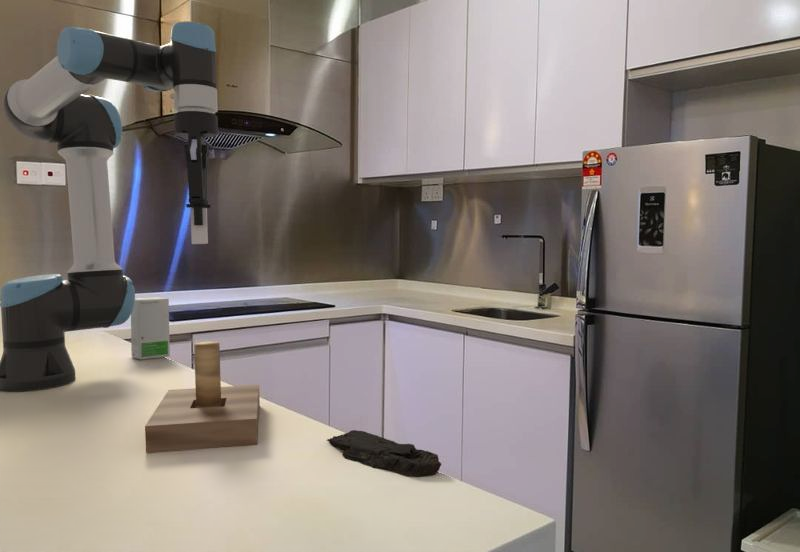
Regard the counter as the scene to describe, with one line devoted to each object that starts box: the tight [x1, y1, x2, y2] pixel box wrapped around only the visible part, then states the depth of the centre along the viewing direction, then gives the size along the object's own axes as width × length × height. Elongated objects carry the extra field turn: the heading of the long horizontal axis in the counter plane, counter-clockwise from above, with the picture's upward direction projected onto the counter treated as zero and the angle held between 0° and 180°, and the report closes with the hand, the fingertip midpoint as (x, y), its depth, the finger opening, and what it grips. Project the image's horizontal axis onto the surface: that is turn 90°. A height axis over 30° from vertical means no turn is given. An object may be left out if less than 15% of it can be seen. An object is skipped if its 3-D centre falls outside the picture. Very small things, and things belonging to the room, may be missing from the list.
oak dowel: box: [193, 341, 222, 408], centre depth 104 cm, size 4×4×14 cm
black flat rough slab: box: [327, 429, 442, 478], centre depth 90 cm, size 22×7×3 cm, turn 43°
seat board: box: [144, 384, 261, 454], centre depth 105 cm, size 22×16×4 cm
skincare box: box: [130, 296, 171, 360], centre depth 165 cm, size 8×7×16 cm
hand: (199, 243), depth 115 cm, fingers closed
